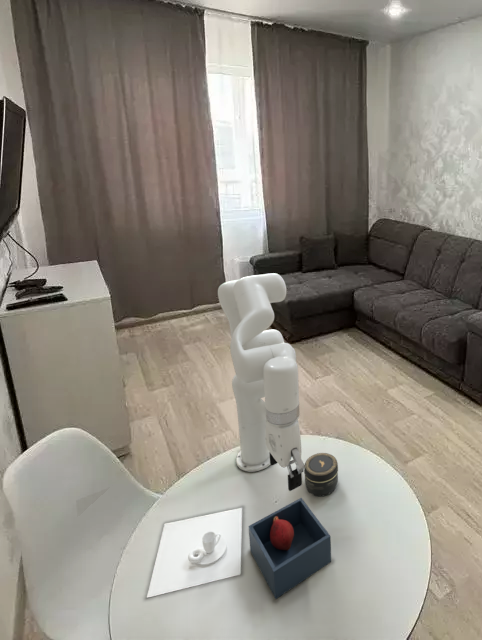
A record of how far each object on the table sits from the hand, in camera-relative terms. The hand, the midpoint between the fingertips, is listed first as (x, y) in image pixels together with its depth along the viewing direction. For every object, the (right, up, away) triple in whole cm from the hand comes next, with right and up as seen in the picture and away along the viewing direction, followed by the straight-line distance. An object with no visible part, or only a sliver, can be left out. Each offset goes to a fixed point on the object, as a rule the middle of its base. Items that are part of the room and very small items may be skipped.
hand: (285, 474), depth 97 cm
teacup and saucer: (-23, -22, +6) cm, 32 cm away
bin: (0, -22, +4) cm, 23 cm away
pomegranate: (0, -21, +4) cm, 21 cm away
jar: (+6, -17, +26) cm, 32 cm away
